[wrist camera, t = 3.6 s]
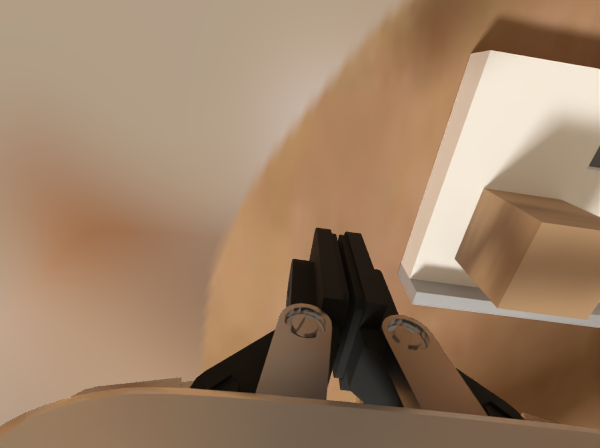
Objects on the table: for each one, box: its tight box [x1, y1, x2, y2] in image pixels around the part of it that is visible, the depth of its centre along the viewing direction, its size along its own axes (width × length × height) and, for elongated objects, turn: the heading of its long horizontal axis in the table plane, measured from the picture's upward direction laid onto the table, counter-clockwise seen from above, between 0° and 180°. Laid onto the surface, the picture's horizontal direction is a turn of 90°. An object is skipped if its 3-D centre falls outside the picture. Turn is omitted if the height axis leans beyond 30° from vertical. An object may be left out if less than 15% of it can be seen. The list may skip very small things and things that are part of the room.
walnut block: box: [454, 188, 600, 320], centre depth 17 cm, size 5×5×5 cm
